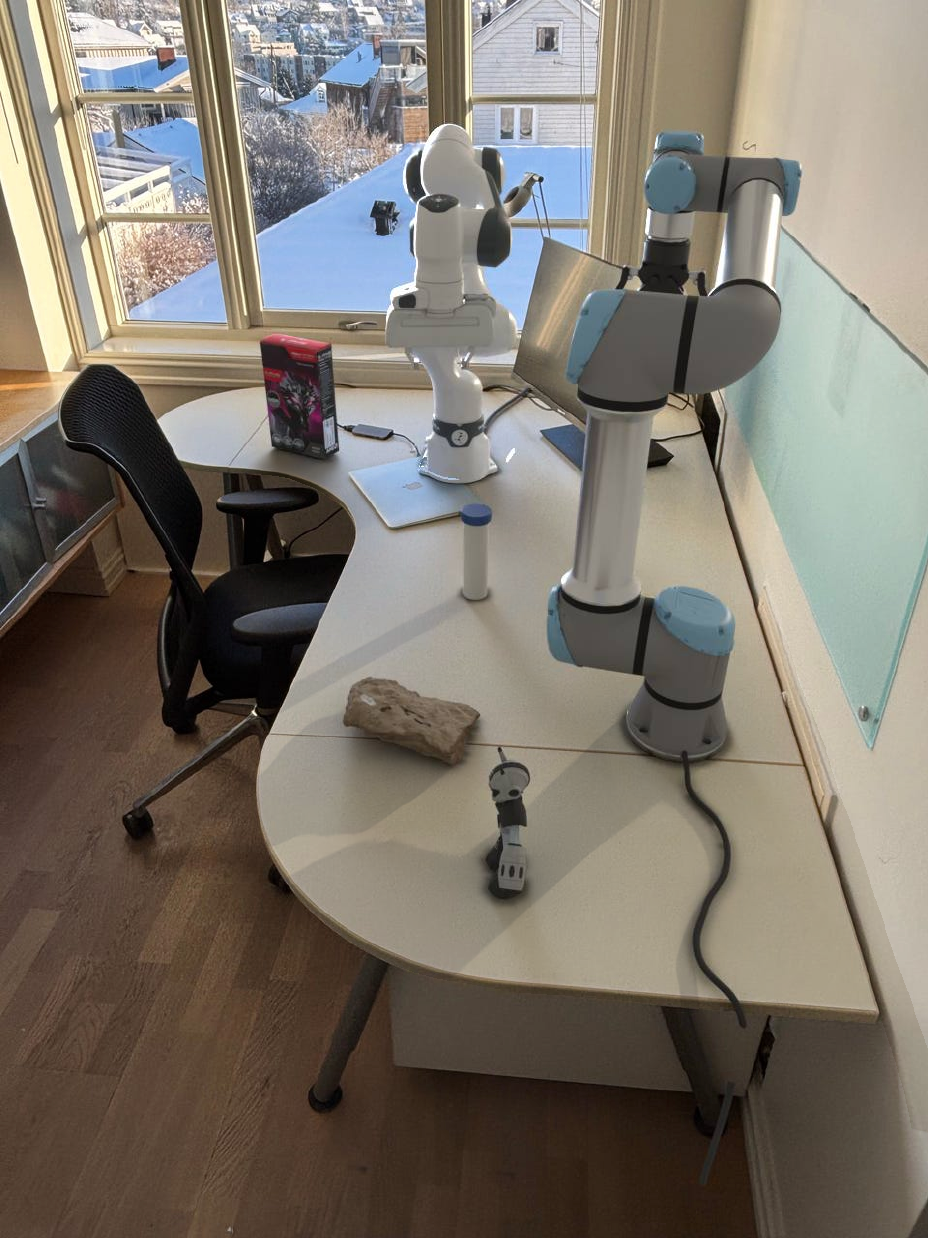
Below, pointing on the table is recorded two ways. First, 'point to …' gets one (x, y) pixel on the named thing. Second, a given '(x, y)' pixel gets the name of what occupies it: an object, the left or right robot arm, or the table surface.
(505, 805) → the robot
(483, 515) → the lid
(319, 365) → the graphics card box
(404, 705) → the stone
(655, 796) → the table surface
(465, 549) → the white bottle
